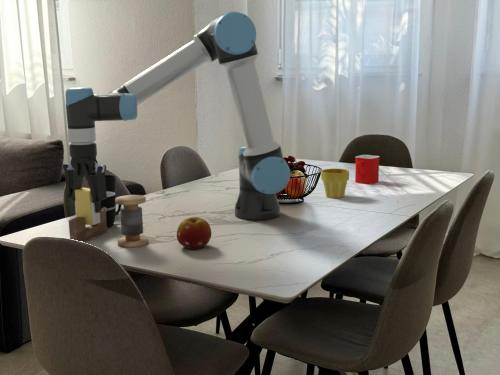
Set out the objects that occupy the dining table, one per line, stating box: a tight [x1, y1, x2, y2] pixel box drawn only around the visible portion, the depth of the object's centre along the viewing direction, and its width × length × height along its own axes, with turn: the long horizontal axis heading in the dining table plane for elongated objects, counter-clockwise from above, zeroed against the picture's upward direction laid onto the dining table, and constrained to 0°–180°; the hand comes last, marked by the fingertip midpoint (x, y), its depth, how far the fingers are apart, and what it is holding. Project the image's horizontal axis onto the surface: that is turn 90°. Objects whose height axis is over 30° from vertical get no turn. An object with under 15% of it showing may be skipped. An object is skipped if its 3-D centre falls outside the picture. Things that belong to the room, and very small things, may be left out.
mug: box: [101, 192, 122, 229], centre depth 189 cm, size 12×9×10 cm
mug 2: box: [354, 154, 380, 185], centre depth 249 cm, size 12×8×11 cm
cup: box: [96, 174, 117, 194], centre depth 207 cm, size 8×8×12 cm
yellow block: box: [75, 187, 94, 226], centre depth 174 cm, size 5×4×10 cm
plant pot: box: [320, 167, 350, 199], centre depth 225 cm, size 10×10×10 cm
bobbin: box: [115, 194, 149, 249], centre depth 169 cm, size 8×8×13 cm
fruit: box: [176, 216, 212, 250], centre depth 166 cm, size 10×9×8 cm
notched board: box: [68, 209, 108, 243], centre depth 176 cm, size 2×14×7 cm, turn 157°
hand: (88, 222), depth 175 cm, fingers closed on yellow block, 5 cm apart
